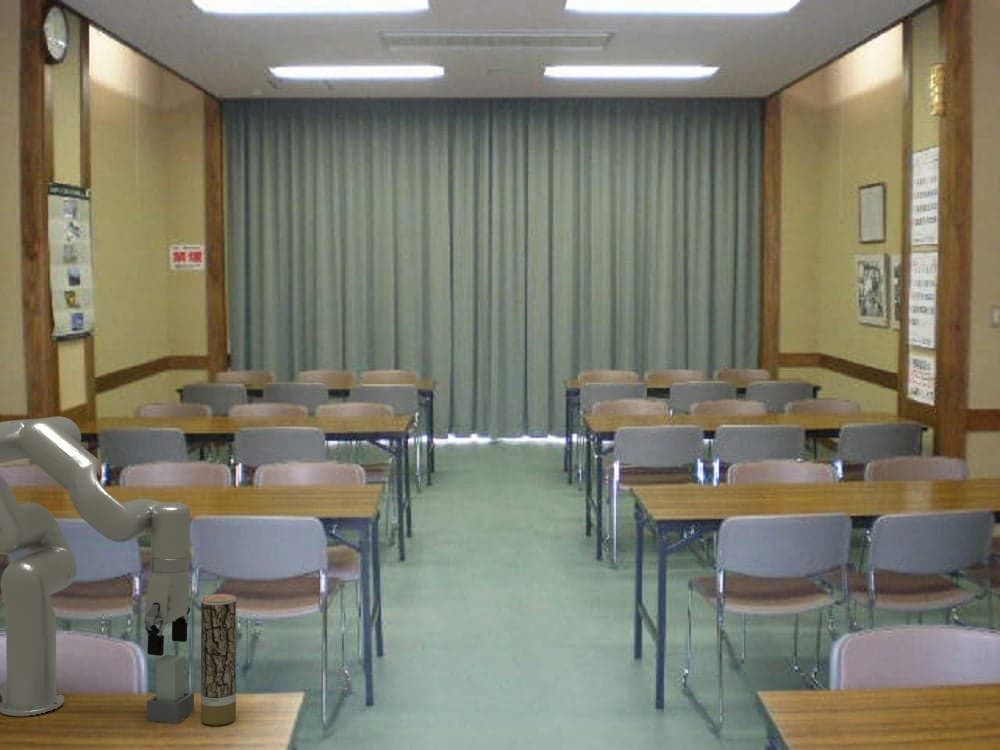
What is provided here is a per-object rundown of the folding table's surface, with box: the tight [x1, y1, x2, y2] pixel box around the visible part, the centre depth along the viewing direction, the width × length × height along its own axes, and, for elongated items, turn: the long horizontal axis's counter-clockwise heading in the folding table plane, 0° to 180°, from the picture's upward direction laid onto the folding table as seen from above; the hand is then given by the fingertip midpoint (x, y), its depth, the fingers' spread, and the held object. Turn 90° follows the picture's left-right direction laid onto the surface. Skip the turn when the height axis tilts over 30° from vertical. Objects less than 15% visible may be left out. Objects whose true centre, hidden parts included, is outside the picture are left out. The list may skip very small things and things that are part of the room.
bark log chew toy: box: [200, 593, 237, 727], centre depth 222 cm, size 7×7×25 cm
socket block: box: [146, 691, 195, 725], centre depth 225 cm, size 7×7×4 cm
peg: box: [155, 654, 185, 703], centre depth 225 cm, size 4×4×12 cm
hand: (167, 647), depth 225 cm, fingers open, 9 cm apart
